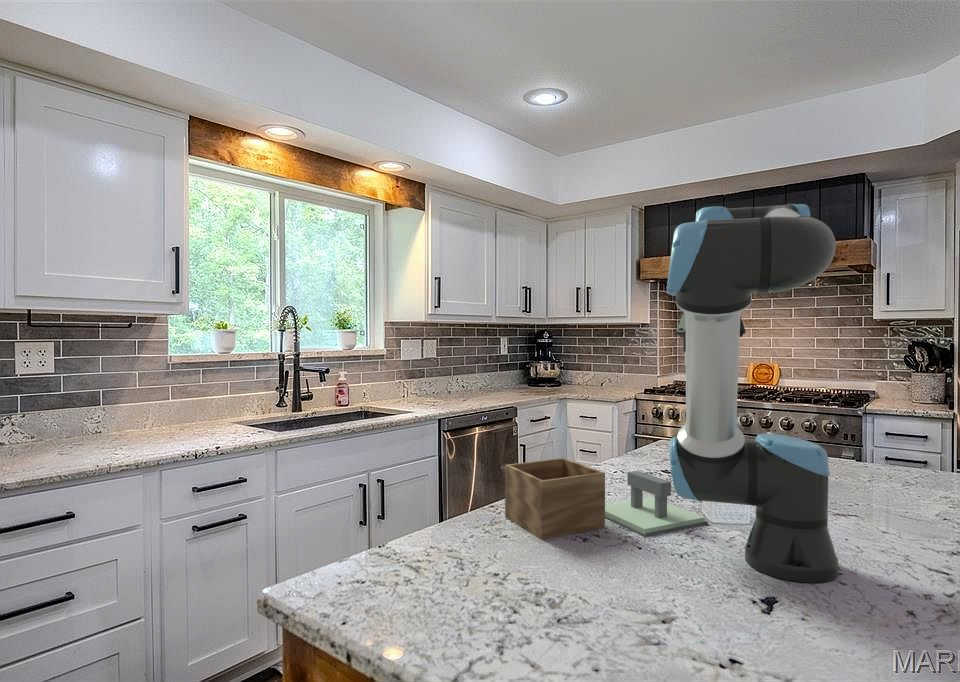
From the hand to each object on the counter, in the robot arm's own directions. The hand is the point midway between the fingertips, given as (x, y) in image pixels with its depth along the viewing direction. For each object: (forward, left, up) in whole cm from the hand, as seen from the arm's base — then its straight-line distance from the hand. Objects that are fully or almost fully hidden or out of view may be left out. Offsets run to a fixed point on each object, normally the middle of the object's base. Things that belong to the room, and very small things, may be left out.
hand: (711, 365), depth 140 cm
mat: (+2, +17, -34) cm, 38 cm away
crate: (+9, +38, -34) cm, 52 cm away
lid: (+2, +17, -34) cm, 38 cm away
